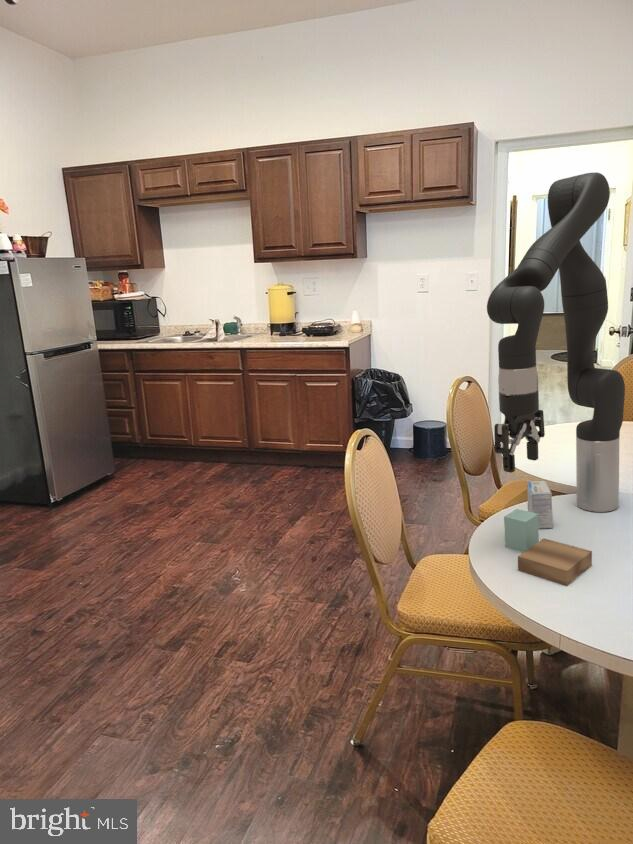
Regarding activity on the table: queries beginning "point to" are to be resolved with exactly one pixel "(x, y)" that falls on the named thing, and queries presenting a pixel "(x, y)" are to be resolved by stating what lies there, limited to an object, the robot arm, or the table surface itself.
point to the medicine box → (540, 502)
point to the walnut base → (555, 561)
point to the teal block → (521, 530)
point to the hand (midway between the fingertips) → (521, 465)
